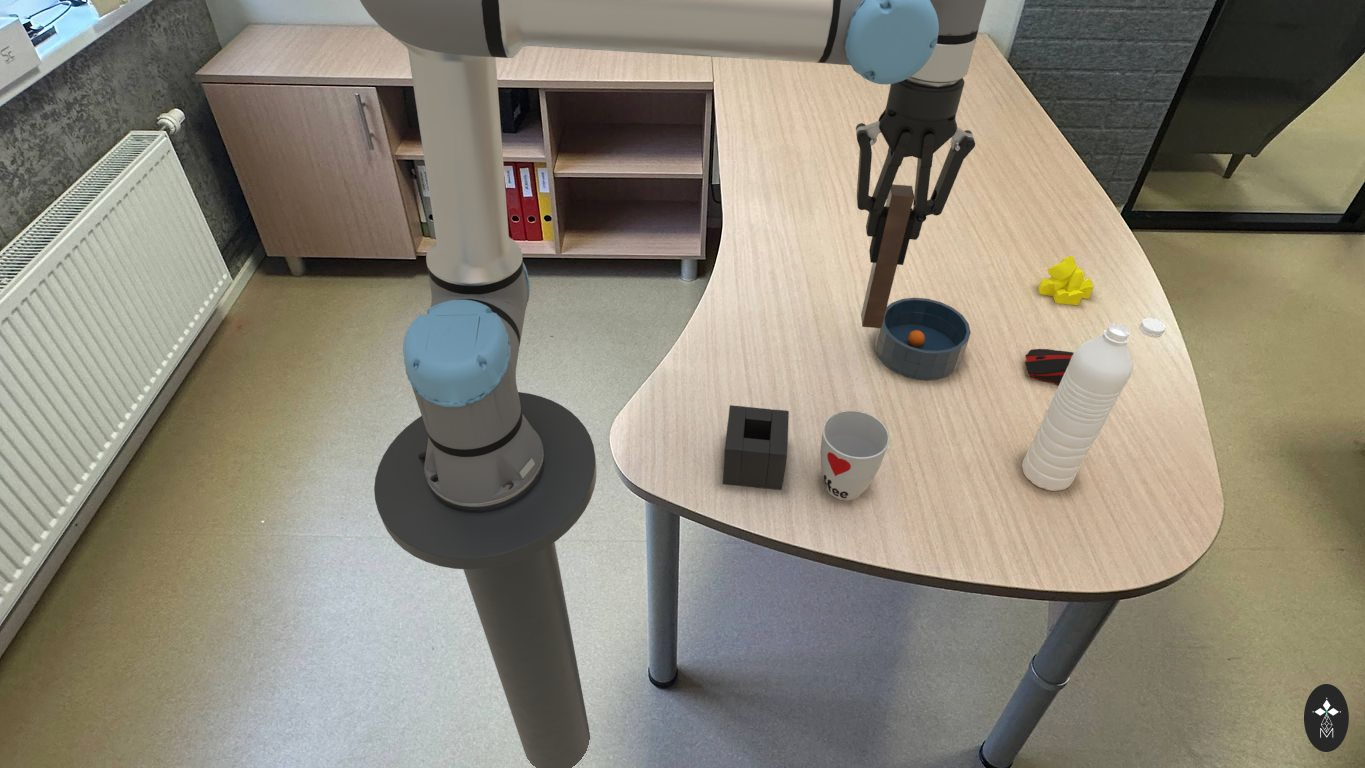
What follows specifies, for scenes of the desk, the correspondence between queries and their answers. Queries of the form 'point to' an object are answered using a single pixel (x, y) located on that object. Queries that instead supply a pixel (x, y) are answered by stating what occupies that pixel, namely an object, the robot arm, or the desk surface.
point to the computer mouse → (1047, 364)
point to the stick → (887, 256)
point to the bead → (916, 338)
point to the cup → (851, 452)
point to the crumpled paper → (1066, 283)
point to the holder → (756, 447)
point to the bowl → (941, 338)
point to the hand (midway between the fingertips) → (886, 257)
